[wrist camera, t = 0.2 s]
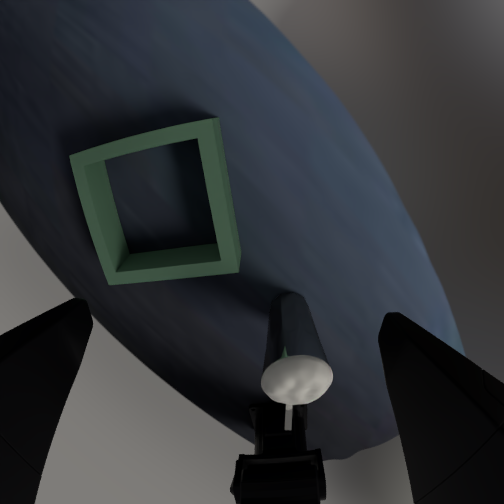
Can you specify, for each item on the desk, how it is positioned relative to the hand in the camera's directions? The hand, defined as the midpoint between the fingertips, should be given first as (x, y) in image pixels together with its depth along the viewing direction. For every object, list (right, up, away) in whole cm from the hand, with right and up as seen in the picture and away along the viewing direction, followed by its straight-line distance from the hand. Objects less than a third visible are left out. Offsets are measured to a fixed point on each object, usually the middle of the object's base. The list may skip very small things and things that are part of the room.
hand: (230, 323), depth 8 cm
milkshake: (+4, -3, +17) cm, 18 cm away
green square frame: (-6, +6, +13) cm, 15 cm away
